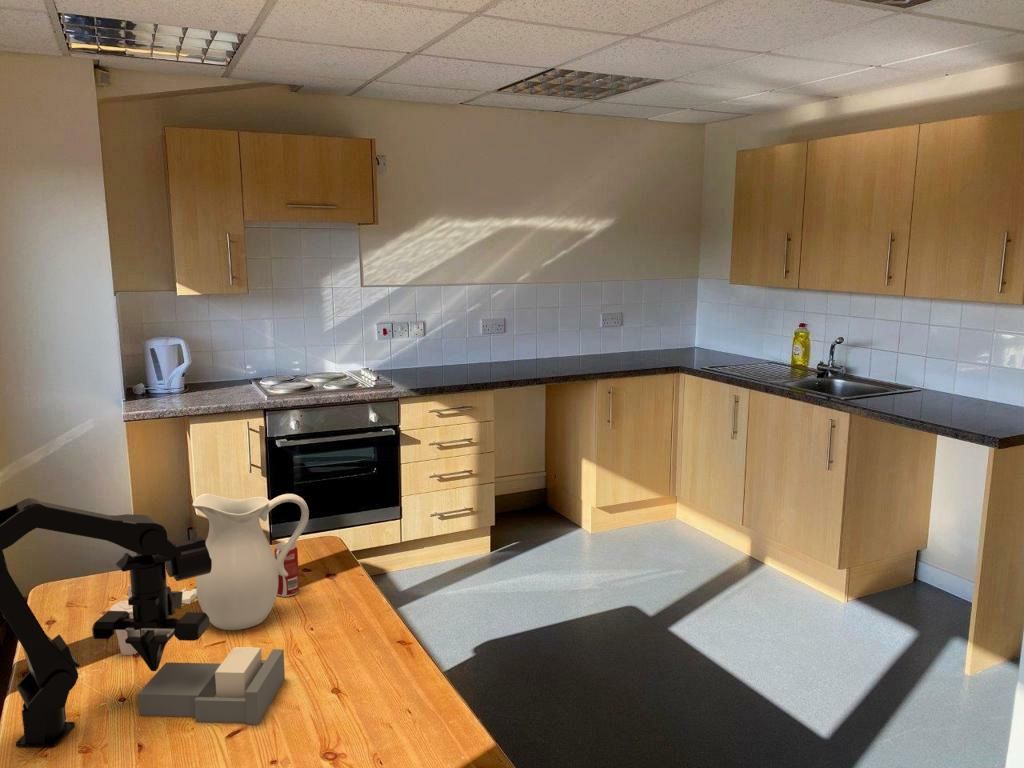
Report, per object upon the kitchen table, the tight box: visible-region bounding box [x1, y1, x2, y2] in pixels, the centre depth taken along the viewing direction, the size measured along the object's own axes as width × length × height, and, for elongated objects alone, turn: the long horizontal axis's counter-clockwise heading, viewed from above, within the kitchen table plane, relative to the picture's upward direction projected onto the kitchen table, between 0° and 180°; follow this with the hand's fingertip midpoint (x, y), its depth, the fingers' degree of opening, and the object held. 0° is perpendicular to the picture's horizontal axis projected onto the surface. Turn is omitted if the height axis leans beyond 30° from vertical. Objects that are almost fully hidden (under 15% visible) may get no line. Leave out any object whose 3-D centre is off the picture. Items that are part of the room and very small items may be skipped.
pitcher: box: [192, 493, 310, 631], centre depth 177 cm, size 24×17×28 cm
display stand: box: [137, 648, 286, 726], centre depth 146 cm, size 15×22×6 cm
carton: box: [215, 646, 263, 698], centre depth 146 cm, size 9×8×5 cm
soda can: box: [273, 540, 300, 598], centre depth 191 cm, size 5×5×12 cm
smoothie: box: [109, 584, 139, 656], centre depth 163 cm, size 6×6×14 cm
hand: (154, 669), depth 146 cm, fingers closed
